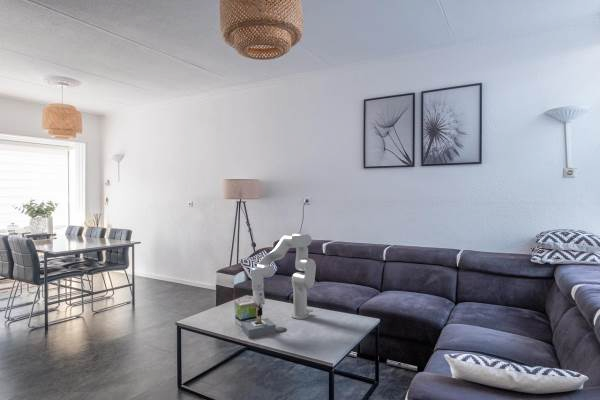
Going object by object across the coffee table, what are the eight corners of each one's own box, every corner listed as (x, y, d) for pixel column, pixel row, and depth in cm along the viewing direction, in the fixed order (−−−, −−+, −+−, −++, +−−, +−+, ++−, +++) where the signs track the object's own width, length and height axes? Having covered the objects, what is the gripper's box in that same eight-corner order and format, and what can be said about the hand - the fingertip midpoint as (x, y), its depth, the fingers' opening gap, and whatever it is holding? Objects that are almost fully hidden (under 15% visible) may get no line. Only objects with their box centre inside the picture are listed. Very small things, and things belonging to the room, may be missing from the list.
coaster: (283, 327, 238) (283, 326, 238) (288, 331, 230) (288, 330, 230) (272, 329, 234) (272, 328, 234) (277, 333, 227) (277, 332, 227)
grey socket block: (267, 325, 241) (267, 317, 241) (275, 332, 229) (275, 323, 229) (242, 330, 233) (241, 322, 233) (248, 338, 221) (248, 329, 221)
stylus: (260, 322, 233) (259, 304, 233) (262, 323, 231) (261, 305, 230) (256, 323, 232) (255, 305, 232) (257, 324, 229) (257, 306, 229)
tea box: (241, 327, 239) (240, 305, 239) (235, 323, 248) (234, 301, 247) (261, 322, 248) (260, 301, 247) (254, 318, 256) (254, 297, 256)
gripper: (267, 288, 225) (269, 317, 225) (259, 282, 240) (260, 310, 240) (256, 290, 222) (257, 319, 222) (248, 284, 236) (249, 312, 237)
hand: (259, 314), depth 231 cm, fingers closed on stylus, 3 cm apart
